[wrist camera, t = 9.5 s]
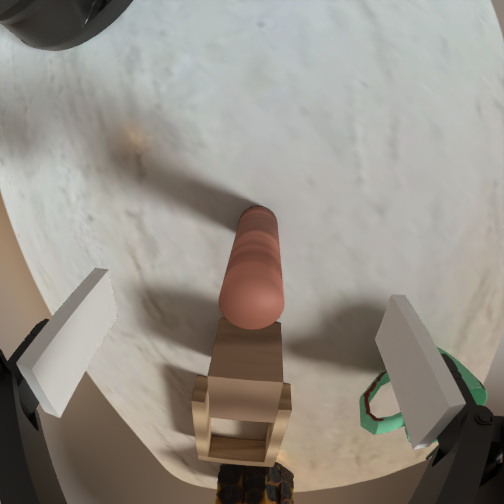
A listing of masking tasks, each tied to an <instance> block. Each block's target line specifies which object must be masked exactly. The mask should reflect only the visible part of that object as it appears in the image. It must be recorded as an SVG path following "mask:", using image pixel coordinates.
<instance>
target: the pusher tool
mask: <svg viewBox="0 0 504 504" xmlns="http://www.w3.org/2000/svg"><path fill="white" fill-rule="evenodd" d="M219 307H220V310H221V312H222V314H223V315H224V317H225V318H226V319H225V318H220V322H219V327H218V331H217V336H216V340H215V345H214V349H213V354H212V358H211V363H210V367H209V372H208V396H209V415H210V417H212V418H221V419H230V420H241V421H254V422H271V423H274V422H275V418H276V414H277V409H278V405H279V400H280V396H281V391H282V386H283V360H282V338H281V323H274V322H275V321H276V320H277V319H278V318H279V317H280V315H281V314H282V311H283V308H284V293H283V281H282V269H281V258H280V247H279V236H278V225H277V219H276V217H275V215H274V213H273V212H272V211H271V210H269V209H268V208H265V207H262V206H255V207H251V208H249V209H247V210H246V211H245V212H244V213H243V214H242V216H241V218H240V221H239V225H238V229H237V232H236V236H235V240H234V243H233V247H232V251H231V254H230V258H229V262H228V266H227V269H226V273H225V277H224V280H223V284H222V288H221V292H220V296H219Z"/></svg>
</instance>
